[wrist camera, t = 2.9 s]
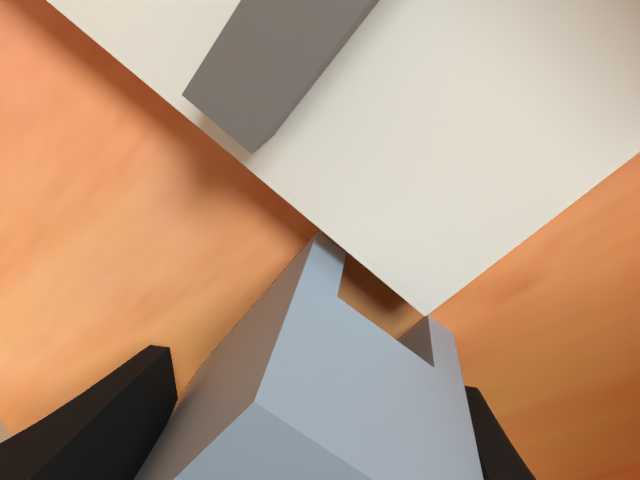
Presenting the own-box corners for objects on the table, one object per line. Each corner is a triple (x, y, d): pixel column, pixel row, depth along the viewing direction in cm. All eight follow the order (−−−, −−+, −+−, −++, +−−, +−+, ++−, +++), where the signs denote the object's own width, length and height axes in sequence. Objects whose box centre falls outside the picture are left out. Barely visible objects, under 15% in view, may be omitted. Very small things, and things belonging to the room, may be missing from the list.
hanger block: (453, 333, 12) (501, 563, 7) (312, 445, 15) (269, 666, 10) (317, 230, 11) (254, 401, 6) (196, 370, 15) (83, 566, 9)
